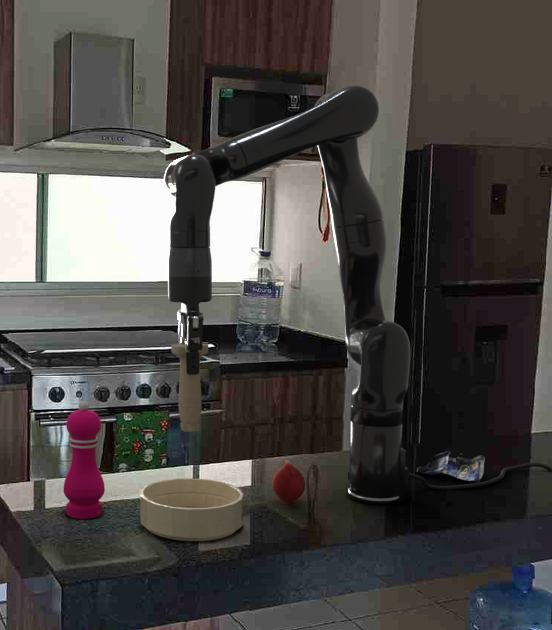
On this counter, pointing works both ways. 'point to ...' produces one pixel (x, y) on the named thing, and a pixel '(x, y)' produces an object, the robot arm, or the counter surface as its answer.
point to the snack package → (455, 467)
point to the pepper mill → (83, 465)
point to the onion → (288, 483)
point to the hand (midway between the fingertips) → (190, 371)
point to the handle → (189, 391)
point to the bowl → (191, 509)
